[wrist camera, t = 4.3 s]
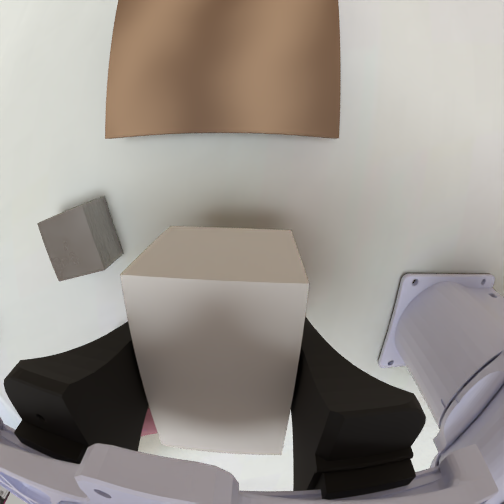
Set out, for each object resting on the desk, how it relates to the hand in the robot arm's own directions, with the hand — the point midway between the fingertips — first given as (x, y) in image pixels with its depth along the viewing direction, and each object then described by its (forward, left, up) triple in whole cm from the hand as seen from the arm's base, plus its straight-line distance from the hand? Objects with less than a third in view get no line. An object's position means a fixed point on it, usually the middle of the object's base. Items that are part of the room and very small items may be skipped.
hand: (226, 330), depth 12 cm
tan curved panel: (+1, -13, -7) cm, 15 cm away
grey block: (+10, -2, -7) cm, 12 cm away
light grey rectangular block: (0, 0, -2) cm, 2 cm away
